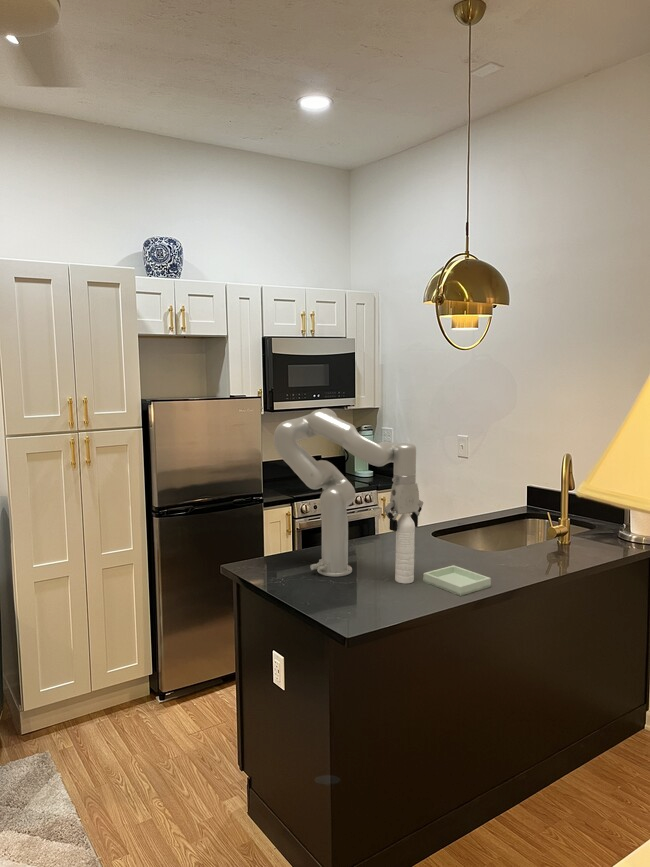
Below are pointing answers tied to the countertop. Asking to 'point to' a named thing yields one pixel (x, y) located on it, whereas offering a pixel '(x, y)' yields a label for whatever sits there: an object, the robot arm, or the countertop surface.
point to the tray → (457, 580)
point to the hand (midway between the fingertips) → (403, 528)
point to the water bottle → (405, 549)
